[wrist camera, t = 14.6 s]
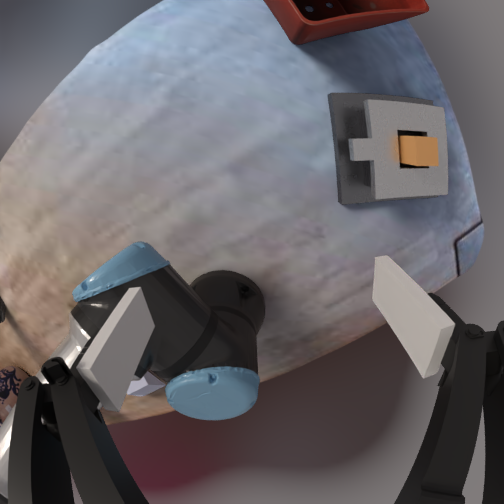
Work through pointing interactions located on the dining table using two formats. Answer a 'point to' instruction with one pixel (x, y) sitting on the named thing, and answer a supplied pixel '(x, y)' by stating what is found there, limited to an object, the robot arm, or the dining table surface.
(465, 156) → the dining table surface
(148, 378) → the lavender faceted polyhedron
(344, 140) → the tabbed square frame
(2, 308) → the hammer
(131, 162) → the dining table surface
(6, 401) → the ceramic pitcher
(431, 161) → the orange rectangular block
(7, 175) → the dining table surface
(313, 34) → the plant pot
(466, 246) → the dining table surface
